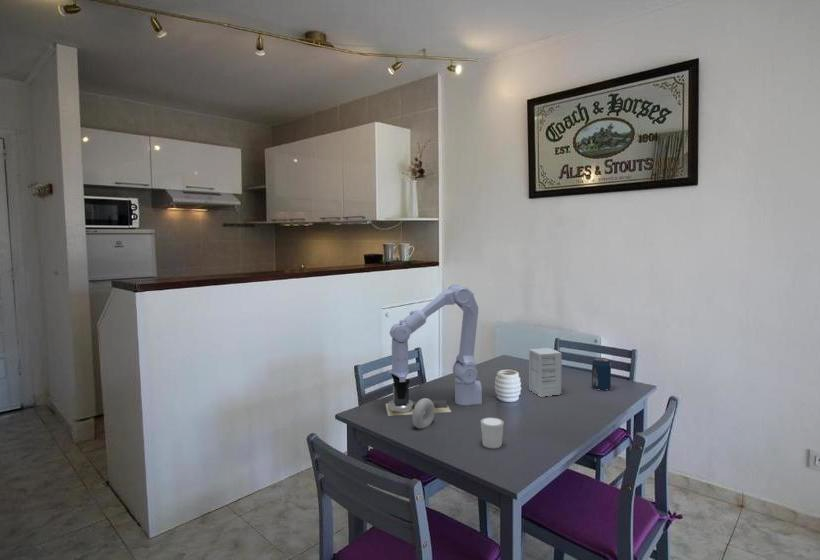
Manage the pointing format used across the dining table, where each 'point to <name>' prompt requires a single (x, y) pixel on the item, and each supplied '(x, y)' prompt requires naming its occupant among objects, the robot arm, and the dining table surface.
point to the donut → (429, 413)
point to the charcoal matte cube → (400, 401)
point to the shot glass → (492, 432)
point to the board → (437, 410)
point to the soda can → (601, 373)
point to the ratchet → (412, 406)
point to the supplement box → (545, 371)
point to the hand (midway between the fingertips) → (400, 396)
